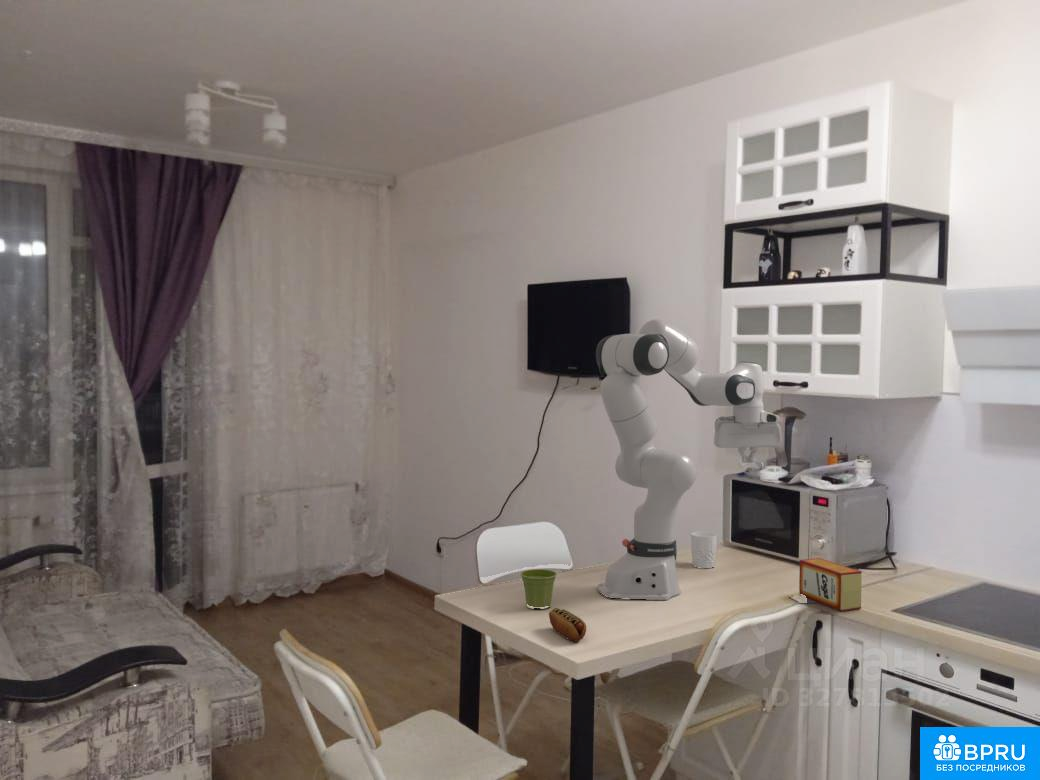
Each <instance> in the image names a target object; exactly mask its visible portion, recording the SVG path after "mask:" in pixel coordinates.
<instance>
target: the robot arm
mask: <svg viewBox="0 0 1040 780" xmlns="http://www.w3.org/2000/svg"><path fill="white" fill-rule="evenodd" d="M699 353H700V351H699V347H698V344H697V343H696V341H695V340H694V339H693V338H691V336H689V335H688V334H686V333H685V332H683V331H682V330H681V329H680V328H678V327H676V326H674V325H672V324H671V323H668V322H667V321H663V320H661V319H656V318H655V319H651V320H649V321H646V323H644V324H643V325H642V327H641V328H640V329H639V332H638V334H637V333H636V334H635V333H624V334H623V333H621V334H611V335H608V336H605V337H603V338H602V339H601V340H599V342H598V343H597V346H596V349H595V359H596V365H597V366H598V371H599V373H600V375H601V376H602V377H603V378H604V379H603V380H602V381H601V383H600V385H599V386H600V387H599V388H600V389H599V390H600V395H601V398H602V403H603V406H604V408H605V411H606V414H607V416H608V418H609V421H610V424H611V427H612V428H613V430H614V431H615V435H616V437H617V440H618V443H619V448H620V450H619V451H620V452H619V454H618V456H617V458H616V461H615V473H616V475H617V477H618V478H619V480H621V481H622V482H624V483H626V484H628V485H631V486H633V487H634V488H635V487H636V488H643V489H646V490H647V494H646V498H645V500H644V502H643V503H642V504H640V505H638V506H637V507H636V509H635V511H634V514H633V516H634V517H633V518H634V519H633V520H634V521H633V538H632V539H631V540H628V539H627V538H624V539H623V540H622V541H621V544H622V546H623V547H625V548H626V551H627V552H626V553H625V554H624V555H623V556H621V557H620V558H618V559H617V560H616V561H614V562H613V563H611V564H610V565H609V566H608V569H607V571H606V574H605V575H606V576H605V582H600V583H598V585H597V590H598V589H599V591H600V592H601V593H603V594H604V595H606V596H608V597H612V598H629V599H628V600H630V599H646V600H649V601H652V600H653V601H667V600H670V599H671V598H672V597H675V596H678V595H679V594H680V593H681V589H680V585H679V581H678V575H677V567H676V566H677V565H676V561H677V555H678V554H677V553H678V552H677V550H678V549H677V548H678V547H677V540H676V537H675V536H676V516H677V515H676V514H677V509H678V507H679V504H680V501H681V499H682V497H683V496H684V495H685V493H686V492H687V491H689V490H690V489H691V488H692V487H693V485H694V484H695V482H696V479H697V467H696V464H695V462H694V460H693V459H692V458H691V457H689V456H687V455H684V454H682V453H679V452H676V451H671V450H663V449H662V450H661V449H657V448H656V447H655V446H654V444H653V439H654V437H655V436H656V434H657V432H658V423H657V421H656V418H655V415H654V414H653V412H652V409H651V407H650V404H649V402H648V400H647V398H646V396H645V394H644V391H642V387H641V383H640V376H647V377H648V376H654V375H657V374H660V373H661V372H663V370H664V371H665V372H666V373H667V374H668V375H669V376H670V377H671V378H672V379H673V380H674V381H675V382H677V383H678V384H679V385H680V386H682V388H684V390H686V392H687V393H688V395H689V397H690V398H691V399H692V401H693V402H694V403H695V404H696V405H698V406H703V407H704V406H706V407H707V406H709V407H710V406H719V407H720V406H721V407H722V406H723V407H732V415H731V416H719V417H717V418H716V419H715V421H714V430H715V432H714V437H713V440H714V441H713V444H714V446H715V447H716V448H721V449H723V448H725V449H727V448H728V449H729V448H730V449H732V448H733V449H734V448H738V450H737V451H738V453H739V454H740V456H741V462H742V463H744V464H745V463H746V464H747V463H748V464H750V463H751V464H752V463H754V457H755V456H756V454H757V452H758V448H779V447H780V446H781V445H782V442H783V435H782V427H781V425H780V424H779V423H780V416H779V415H777V414H774V413H771V412H768V411H765V410H764V408H765V407H764V403H763V396H764V393H765V390H764V389H765V386H764V385H765V383H764V381H765V380H764V373H763V368H762V366H761V365H760V364H758V363H756V362H750V361H739V362H736V363H735V366H734V368H732V369H731V370H729V371H727V372H721V373H720V372H717V373H716V372H715V373H713V372H702V371H698V370H696V369H695V366H696V364H697V363H698V360H699V355H700V354H699ZM747 448H749V451H750V453H749V455H746V453H745V452H746V449H747ZM599 591H598V592H599ZM646 600H645V601H646Z"/></svg>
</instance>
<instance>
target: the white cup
mask: <svg viewBox="0 0 1040 780" xmlns="http://www.w3.org/2000/svg"><path fill="white" fill-rule="evenodd" d="M717 538H718V534H717V533H714V532H709V531H694V532H691V533H690V543H691V544H690V546H691V547H690V549H691V560H692V561H691V563H692V564H691V565H693V566H696V567H701V568H710V569H713V568H712V567H714V566H715V564H716V558H717V557H716V555H717V541H718V539H717ZM693 566H692V567H693ZM696 567H695V568H696ZM701 568H700V569H701ZM714 568H715V567H714Z"/></svg>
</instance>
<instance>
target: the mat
mask: <svg viewBox="0 0 1040 780" xmlns="http://www.w3.org/2000/svg"><path fill="white" fill-rule="evenodd" d="M811 604H813V605H814V604H820V603H819V602H816V601H814V600H811V599H808V598H807V604H806V605H811Z"/></svg>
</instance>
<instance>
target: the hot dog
mask: <svg viewBox="0 0 1040 780" xmlns="http://www.w3.org/2000/svg"><path fill="white" fill-rule="evenodd" d="M548 617H549V621H550V625H551V627H552V628H553V630H554V629H555V630H556V631H557V632H556V631H555V630H554V631H555V632H556V633H558V632H559V633H560V634H561V635H560V634H559V633H558V634H559V635H560V636H562V635H563V636H564V637H566V638H568V639H567V640H569V641H571V640H572V641H571V642H579V641H581V640H583V638H584V637H585V636H586V633H587V625H586V622H585V621H584V620H583V619H582V618H581V617H580V616H578V615H576V614H575V613H574V612H571V611H568V610H566V609H560V608H557V607H555V608H553V609H552V610H550V611H549V612H548ZM563 636H562V637H563ZM564 637H563V638H564ZM566 638H565V639H566Z"/></svg>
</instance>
